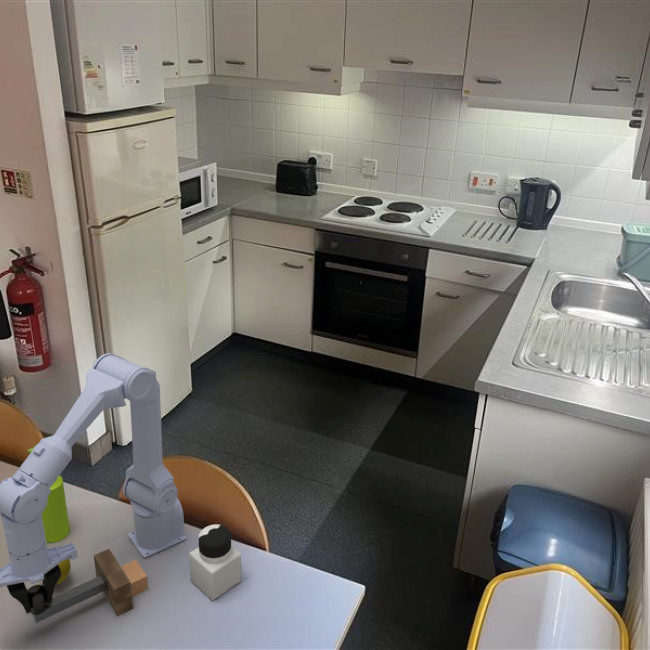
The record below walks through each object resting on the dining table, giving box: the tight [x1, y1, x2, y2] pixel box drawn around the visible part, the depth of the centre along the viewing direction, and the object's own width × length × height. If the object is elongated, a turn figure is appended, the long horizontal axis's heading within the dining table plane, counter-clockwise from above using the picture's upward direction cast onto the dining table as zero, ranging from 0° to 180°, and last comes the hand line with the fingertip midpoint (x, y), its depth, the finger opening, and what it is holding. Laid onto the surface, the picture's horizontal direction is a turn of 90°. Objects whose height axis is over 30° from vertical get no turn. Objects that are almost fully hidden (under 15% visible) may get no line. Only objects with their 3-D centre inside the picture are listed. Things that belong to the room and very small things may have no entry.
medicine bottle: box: [188, 523, 242, 601], centre depth 121 cm, size 7×7×12 cm
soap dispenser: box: [26, 446, 71, 544], centre depth 129 cm, size 6×7×20 cm
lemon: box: [56, 558, 71, 585], centre depth 120 cm, size 6×6×8 cm
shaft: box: [27, 575, 108, 624], centre depth 113 cm, size 15×3×6 cm, turn 128°
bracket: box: [93, 548, 134, 617], centre depth 118 cm, size 3×10×6 cm, turn 38°
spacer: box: [120, 559, 149, 597], centre depth 121 cm, size 4×5×4 cm
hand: (37, 604), depth 109 cm, fingers closed on shaft, 3 cm apart
